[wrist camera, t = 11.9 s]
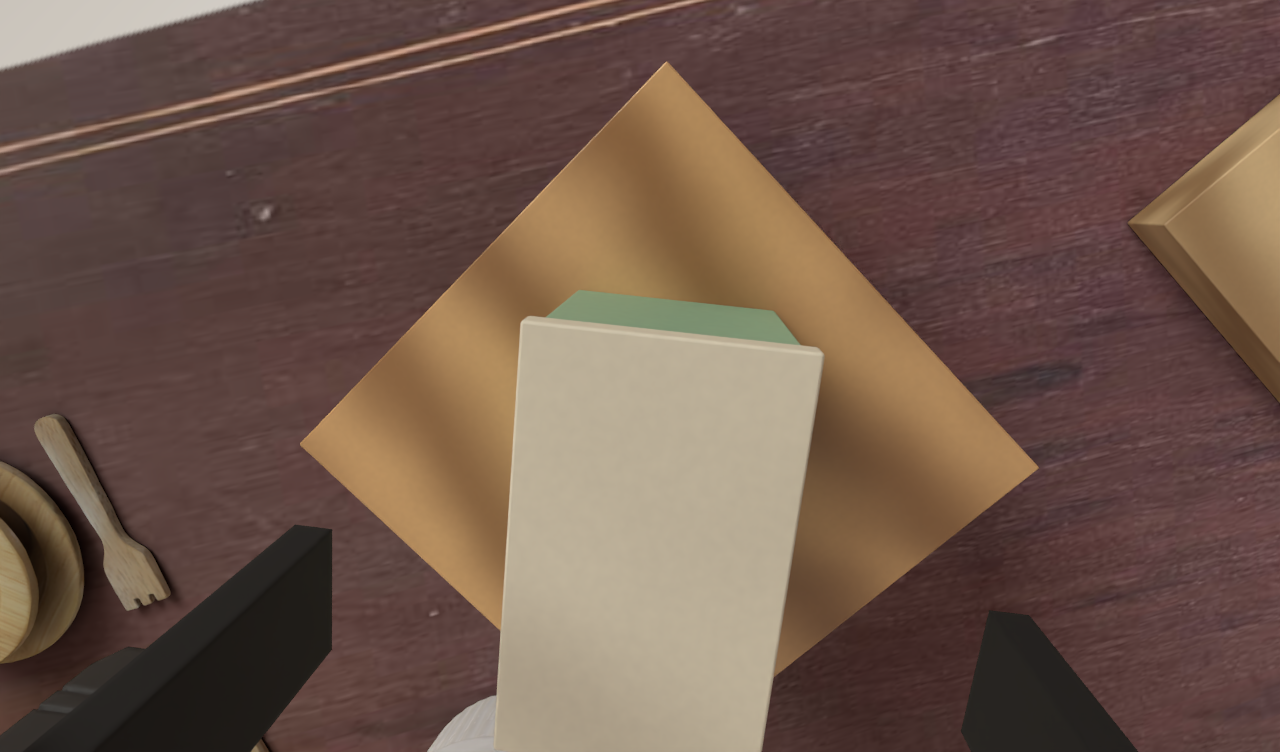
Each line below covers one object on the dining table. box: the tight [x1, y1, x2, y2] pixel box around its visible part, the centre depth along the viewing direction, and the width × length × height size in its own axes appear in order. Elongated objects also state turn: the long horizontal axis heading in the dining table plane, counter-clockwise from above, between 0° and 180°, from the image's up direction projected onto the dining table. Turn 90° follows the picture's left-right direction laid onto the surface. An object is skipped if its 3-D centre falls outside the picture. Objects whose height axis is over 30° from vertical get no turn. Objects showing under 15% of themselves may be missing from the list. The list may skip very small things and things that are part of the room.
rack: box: [300, 62, 1038, 677], centre depth 33 cm, size 18×18×14 cm
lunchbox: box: [493, 290, 825, 752], centre depth 22 cm, size 11×7×8 cm, turn 174°
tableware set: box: [0, 414, 269, 752], centre depth 43 cm, size 30×20×6 cm, turn 24°
